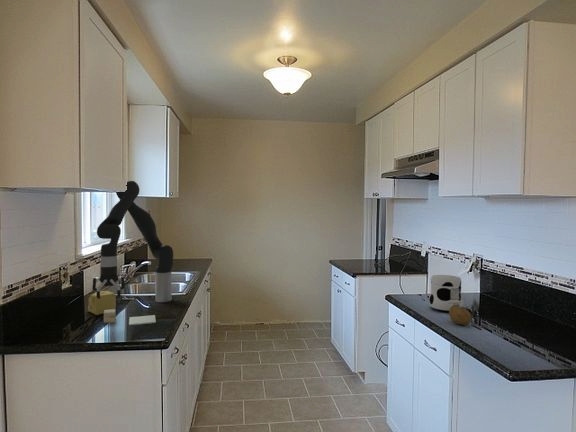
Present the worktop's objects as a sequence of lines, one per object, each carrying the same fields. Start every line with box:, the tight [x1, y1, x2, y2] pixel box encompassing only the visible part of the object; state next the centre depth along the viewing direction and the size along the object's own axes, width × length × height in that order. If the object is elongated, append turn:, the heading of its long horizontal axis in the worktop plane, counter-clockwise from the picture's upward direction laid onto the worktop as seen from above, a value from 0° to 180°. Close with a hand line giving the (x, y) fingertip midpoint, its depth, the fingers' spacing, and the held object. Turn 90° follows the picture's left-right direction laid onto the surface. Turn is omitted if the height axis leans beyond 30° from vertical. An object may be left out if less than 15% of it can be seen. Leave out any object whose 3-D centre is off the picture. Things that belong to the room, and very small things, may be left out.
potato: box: [448, 306, 473, 326], centre depth 190 cm, size 10×14×8 cm
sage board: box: [128, 314, 157, 326], centre depth 194 cm, size 12×12×1 cm
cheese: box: [87, 290, 117, 316], centre depth 210 cm, size 10×11×10 cm
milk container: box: [428, 274, 464, 313], centre depth 216 cm, size 17×17×18 cm
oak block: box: [103, 308, 117, 324], centre depth 193 cm, size 5×5×5 cm
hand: (108, 298), depth 193 cm, fingers open, 8 cm apart
